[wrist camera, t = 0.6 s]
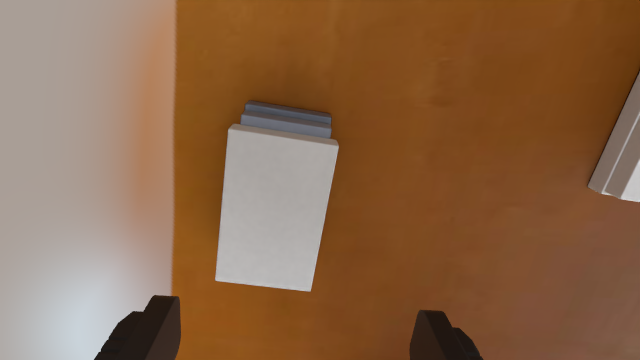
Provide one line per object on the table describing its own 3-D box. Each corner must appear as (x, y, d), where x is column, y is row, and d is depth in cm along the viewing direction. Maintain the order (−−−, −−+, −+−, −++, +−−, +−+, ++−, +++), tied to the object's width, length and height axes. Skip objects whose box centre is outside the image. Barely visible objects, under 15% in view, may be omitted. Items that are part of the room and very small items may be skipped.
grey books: (248, 100, 24) (240, 107, 20) (330, 113, 24) (333, 122, 21) (232, 255, 27) (223, 280, 24) (302, 263, 28) (302, 289, 25)
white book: (233, 123, 21) (227, 128, 19) (336, 139, 21) (339, 145, 20) (220, 267, 24) (214, 281, 23) (310, 278, 25) (310, 292, 23)
